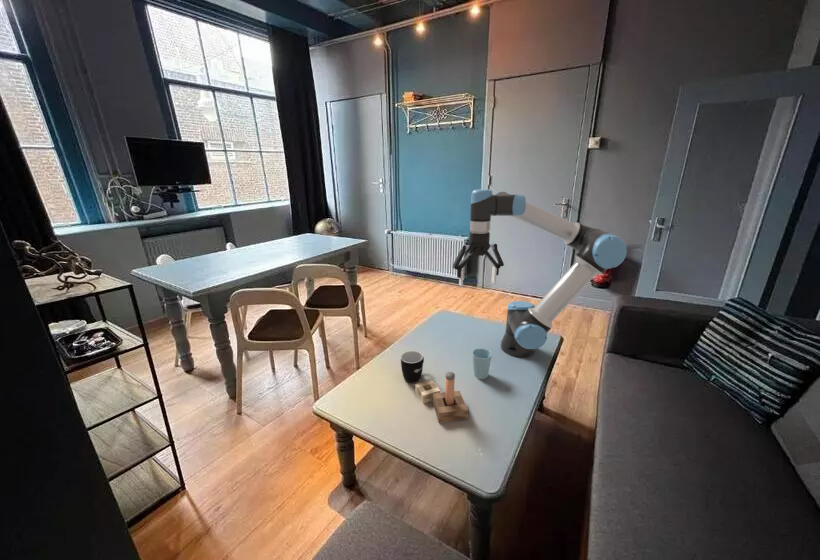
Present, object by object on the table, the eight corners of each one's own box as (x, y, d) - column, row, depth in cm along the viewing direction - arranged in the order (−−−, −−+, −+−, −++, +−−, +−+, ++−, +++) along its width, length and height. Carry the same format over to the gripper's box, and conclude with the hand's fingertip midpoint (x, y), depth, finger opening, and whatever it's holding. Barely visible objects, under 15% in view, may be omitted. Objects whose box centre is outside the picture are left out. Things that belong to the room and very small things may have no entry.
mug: (414, 388, 127) (413, 365, 124) (396, 379, 133) (396, 358, 129) (431, 373, 136) (431, 352, 133) (414, 366, 141) (414, 345, 138)
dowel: (452, 407, 117) (453, 371, 112) (454, 413, 114) (455, 376, 109) (444, 408, 116) (444, 372, 111) (446, 414, 113) (446, 377, 108)
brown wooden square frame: (459, 399, 120) (459, 390, 119) (467, 419, 111) (467, 409, 110) (432, 402, 119) (432, 393, 118) (438, 422, 110) (438, 413, 108)
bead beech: (431, 387, 127) (431, 379, 126) (440, 398, 121) (440, 390, 120) (415, 392, 125) (415, 384, 124) (423, 403, 119) (423, 395, 118)
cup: (469, 369, 138) (470, 348, 134) (487, 369, 138) (489, 348, 134) (473, 381, 131) (474, 358, 127) (492, 380, 131) (493, 358, 127)
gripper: (506, 228, 129) (503, 279, 136) (445, 231, 126) (444, 283, 133) (515, 231, 122) (510, 285, 129) (450, 235, 119) (449, 289, 125)
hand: (477, 284), depth 131 cm, fingers open, 13 cm apart
